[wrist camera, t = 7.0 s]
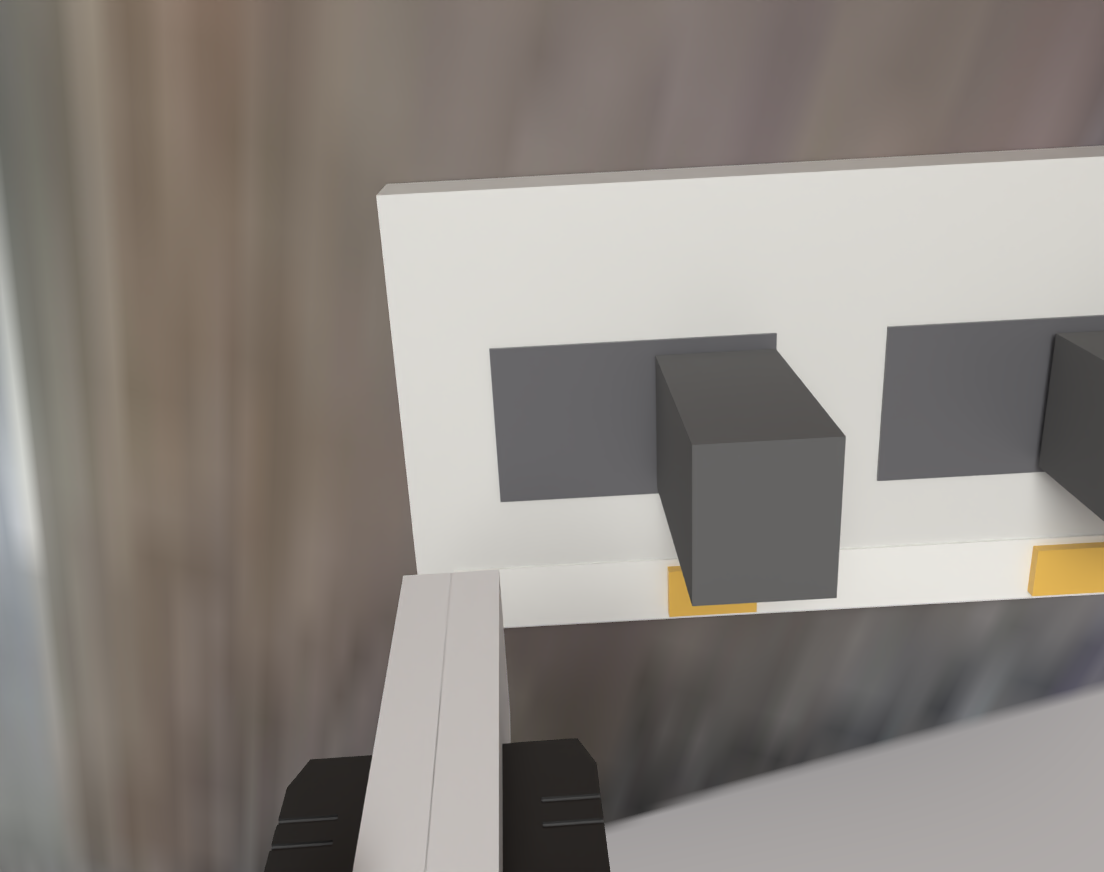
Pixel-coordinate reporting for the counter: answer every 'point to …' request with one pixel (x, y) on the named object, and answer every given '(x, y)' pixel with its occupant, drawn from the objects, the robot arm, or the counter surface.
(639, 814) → the counter surface
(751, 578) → the block
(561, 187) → the switch board
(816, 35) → the counter surface
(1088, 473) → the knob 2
